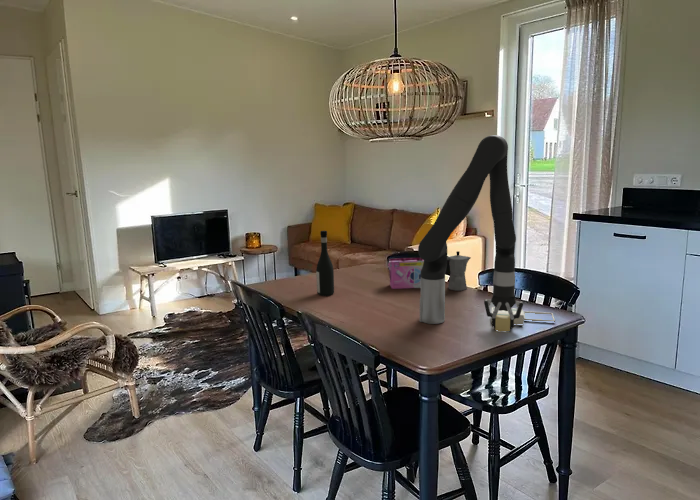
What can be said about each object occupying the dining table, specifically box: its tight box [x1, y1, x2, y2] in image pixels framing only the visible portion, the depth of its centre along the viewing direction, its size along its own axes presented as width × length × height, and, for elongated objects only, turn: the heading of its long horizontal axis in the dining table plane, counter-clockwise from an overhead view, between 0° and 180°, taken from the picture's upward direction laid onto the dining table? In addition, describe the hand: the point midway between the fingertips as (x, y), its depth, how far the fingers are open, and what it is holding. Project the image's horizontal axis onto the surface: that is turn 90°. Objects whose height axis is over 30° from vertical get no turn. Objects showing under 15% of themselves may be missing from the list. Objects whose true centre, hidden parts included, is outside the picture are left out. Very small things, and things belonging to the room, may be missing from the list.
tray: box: [523, 310, 556, 323], centre depth 197 cm, size 11×10×1 cm
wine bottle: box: [315, 230, 335, 297], centre depth 236 cm, size 8×8×30 cm
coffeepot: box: [445, 250, 472, 291], centre depth 242 cm, size 15×9×18 cm, turn 104°
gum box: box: [387, 257, 424, 290], centre depth 249 cm, size 24×8×14 cm, turn 94°
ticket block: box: [490, 306, 524, 325], centre depth 194 cm, size 12×10×4 cm
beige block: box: [494, 313, 511, 332], centre depth 186 cm, size 5×6×5 cm
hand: (502, 327), depth 187 cm, fingers closed on beige block, 5 cm apart
